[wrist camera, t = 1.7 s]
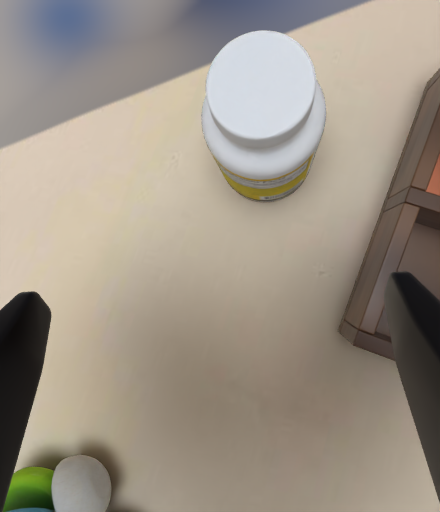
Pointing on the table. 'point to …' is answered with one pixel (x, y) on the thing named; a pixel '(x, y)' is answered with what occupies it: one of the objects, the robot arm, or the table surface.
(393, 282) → the robot arm
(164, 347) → the table surface
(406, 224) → the box
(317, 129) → the supplement bottle
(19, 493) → the multicoloured petal fan toy
